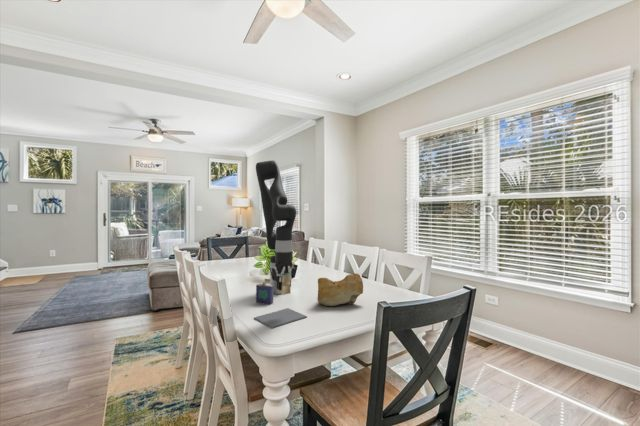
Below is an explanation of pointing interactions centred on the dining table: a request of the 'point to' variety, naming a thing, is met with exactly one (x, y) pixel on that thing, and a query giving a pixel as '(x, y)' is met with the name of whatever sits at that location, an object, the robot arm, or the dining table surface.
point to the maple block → (285, 284)
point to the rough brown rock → (339, 290)
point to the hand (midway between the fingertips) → (283, 289)
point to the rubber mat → (280, 317)
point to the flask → (264, 293)
